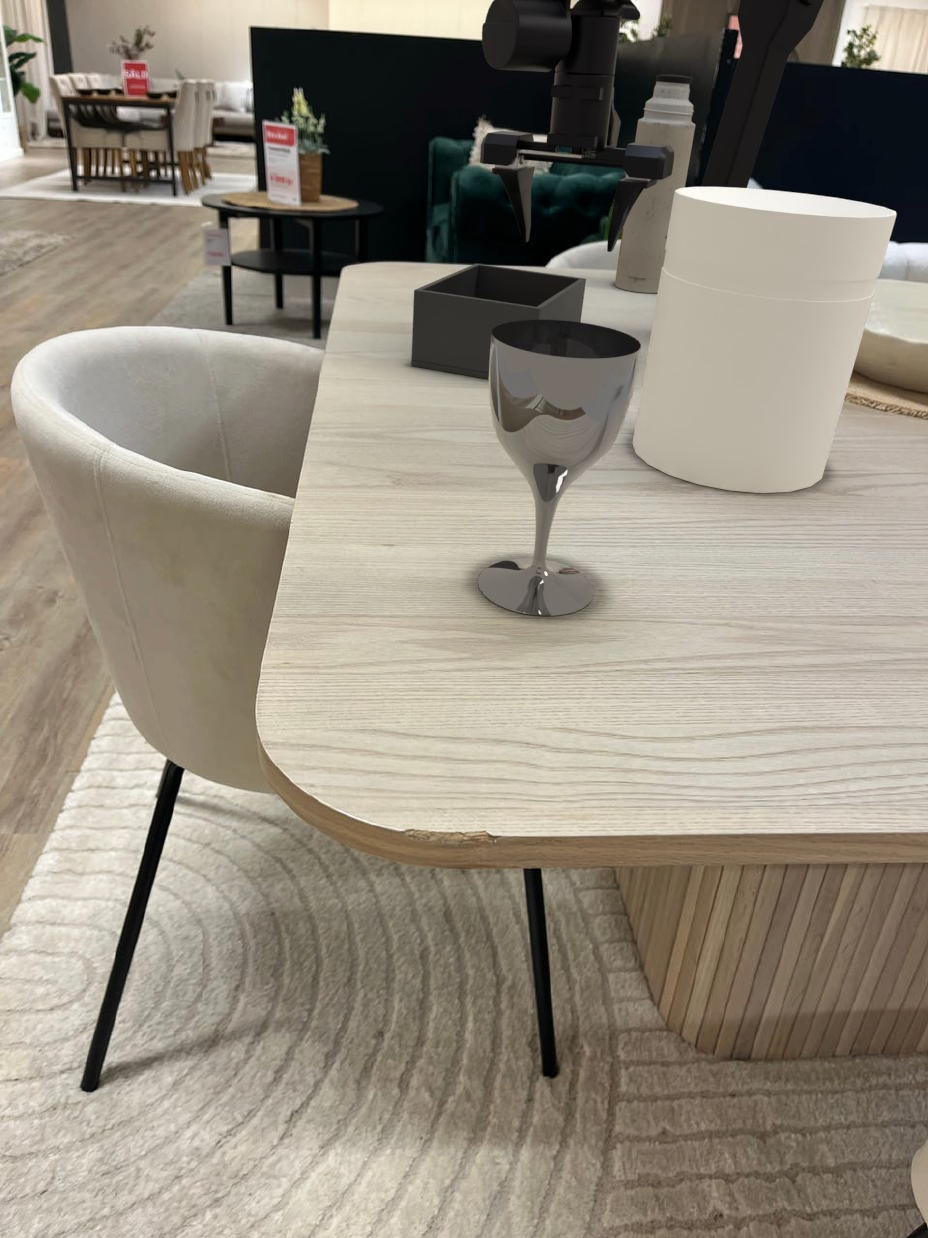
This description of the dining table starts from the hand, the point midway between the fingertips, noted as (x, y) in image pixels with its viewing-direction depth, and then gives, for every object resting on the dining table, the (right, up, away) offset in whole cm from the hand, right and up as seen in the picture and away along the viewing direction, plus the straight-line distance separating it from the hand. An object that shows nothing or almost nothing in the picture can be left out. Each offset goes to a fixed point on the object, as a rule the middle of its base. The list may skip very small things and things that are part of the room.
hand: (567, 246), depth 97 cm
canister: (+11, -25, -18) cm, 33 cm away
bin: (-7, -10, +5) cm, 13 cm away
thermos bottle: (+16, +11, +44) cm, 48 cm away
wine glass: (-6, -37, -40) cm, 55 cm away
